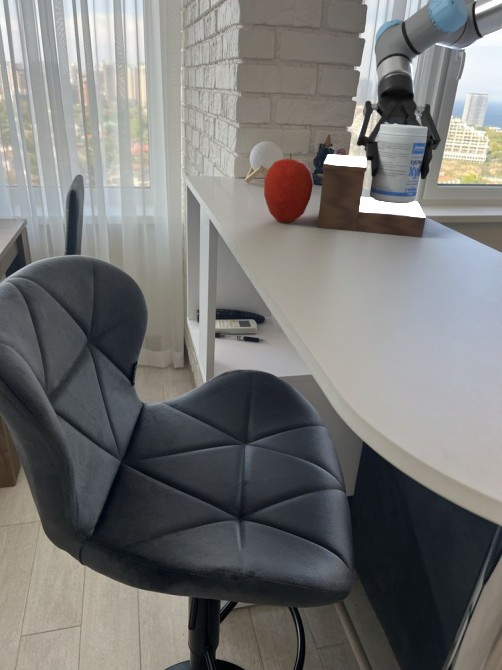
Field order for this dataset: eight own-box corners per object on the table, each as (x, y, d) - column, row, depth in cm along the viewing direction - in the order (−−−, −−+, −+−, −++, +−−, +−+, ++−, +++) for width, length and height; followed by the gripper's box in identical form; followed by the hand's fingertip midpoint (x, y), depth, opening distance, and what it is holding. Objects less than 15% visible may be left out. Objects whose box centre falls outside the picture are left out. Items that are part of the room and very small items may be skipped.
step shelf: (414, 219, 116) (425, 161, 110) (421, 237, 101) (435, 172, 96) (321, 210, 119) (327, 154, 113) (316, 227, 104) (323, 163, 99)
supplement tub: (414, 207, 102) (429, 128, 95) (366, 201, 104) (377, 125, 98) (415, 198, 110) (428, 125, 104) (371, 194, 112) (381, 122, 106)
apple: (314, 227, 104) (321, 156, 98) (266, 226, 103) (271, 154, 97) (303, 215, 113) (309, 150, 107) (259, 214, 112) (262, 148, 106)
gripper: (439, 102, 112) (447, 187, 105) (340, 96, 112) (341, 182, 105) (452, 74, 105) (462, 164, 98) (347, 69, 105) (349, 158, 98)
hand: (400, 173), depth 102 cm, fingers closed on supplement tub, 9 cm apart
